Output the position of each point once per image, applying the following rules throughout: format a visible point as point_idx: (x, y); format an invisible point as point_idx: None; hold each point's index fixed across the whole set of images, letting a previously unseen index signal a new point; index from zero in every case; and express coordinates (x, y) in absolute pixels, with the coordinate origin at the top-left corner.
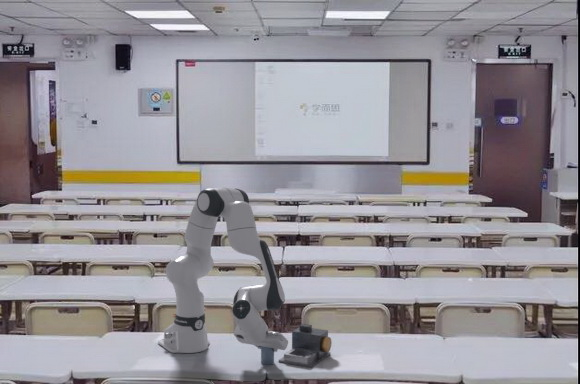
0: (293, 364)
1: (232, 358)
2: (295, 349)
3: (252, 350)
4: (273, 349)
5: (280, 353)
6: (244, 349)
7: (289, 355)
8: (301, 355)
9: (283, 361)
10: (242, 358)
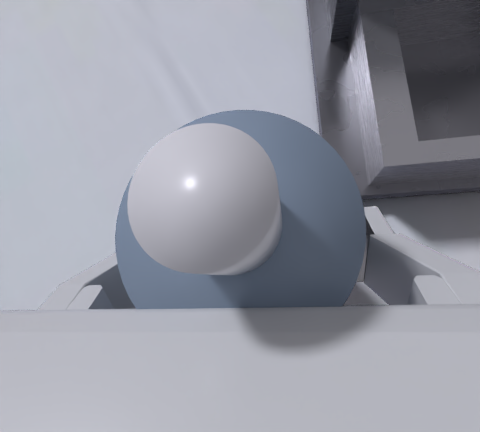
0: (457, 192)
1: (32, 290)
2: (393, 22)
3: (81, 111)
4: (359, 277)
5: (242, 61)
6: (38, 122)
7: (444, 163)
8: (421, 40)
9: (369, 196)
10: (84, 258)
